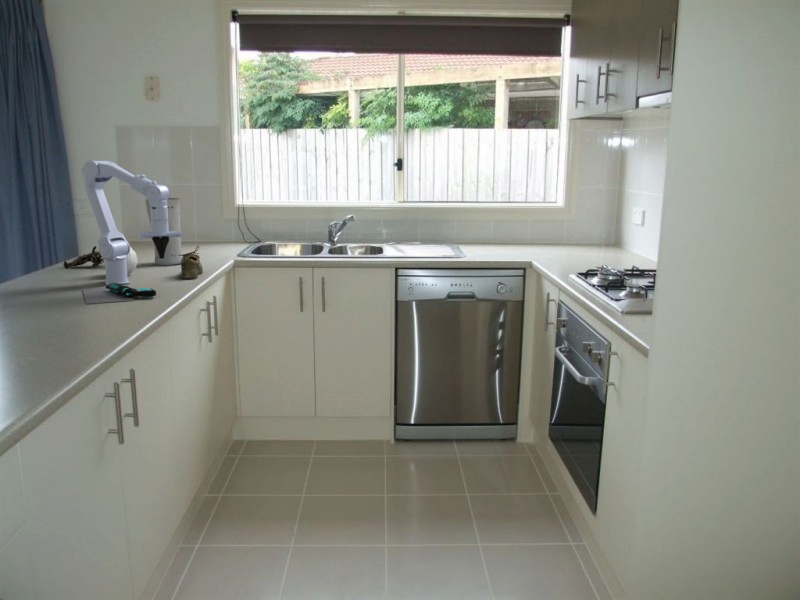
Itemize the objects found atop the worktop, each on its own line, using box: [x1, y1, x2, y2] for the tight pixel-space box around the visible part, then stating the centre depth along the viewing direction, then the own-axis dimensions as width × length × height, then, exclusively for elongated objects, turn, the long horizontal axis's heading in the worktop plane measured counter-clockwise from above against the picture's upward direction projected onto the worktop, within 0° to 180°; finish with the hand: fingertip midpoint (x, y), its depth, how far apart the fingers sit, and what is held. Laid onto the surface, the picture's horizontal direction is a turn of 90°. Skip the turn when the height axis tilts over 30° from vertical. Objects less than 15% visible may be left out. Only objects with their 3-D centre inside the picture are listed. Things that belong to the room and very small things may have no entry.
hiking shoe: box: [178, 245, 204, 280], centre depth 263 cm, size 8×20×12 cm, turn 11°
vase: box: [145, 197, 183, 267], centre depth 286 cm, size 13×14×28 cm
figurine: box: [62, 245, 104, 270], centre depth 276 cm, size 10×8×18 cm
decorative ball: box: [103, 246, 138, 276], centre depth 259 cm, size 12×12×12 cm
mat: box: [82, 287, 135, 305], centre depth 224 cm, size 24×14×1 cm, turn 27°
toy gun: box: [104, 283, 157, 299], centre depth 225 cm, size 3×20×10 cm
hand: (161, 258), depth 238 cm, fingers closed
